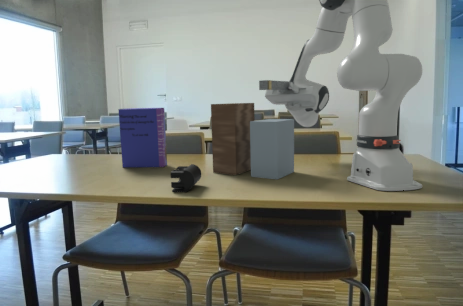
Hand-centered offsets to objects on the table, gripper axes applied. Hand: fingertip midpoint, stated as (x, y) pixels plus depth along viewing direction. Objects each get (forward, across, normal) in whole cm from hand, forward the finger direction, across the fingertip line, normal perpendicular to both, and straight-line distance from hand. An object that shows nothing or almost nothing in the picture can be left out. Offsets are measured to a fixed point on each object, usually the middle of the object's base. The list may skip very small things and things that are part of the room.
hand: (284, 84), depth 130 cm
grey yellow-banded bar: (+4, 0, +4) cm, 6 cm away
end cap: (+19, -14, +47) cm, 53 cm away
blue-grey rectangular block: (-7, 0, +32) cm, 33 cm away
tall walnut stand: (-7, -16, +32) cm, 37 cm away
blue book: (0, -54, +37) cm, 66 cm away
